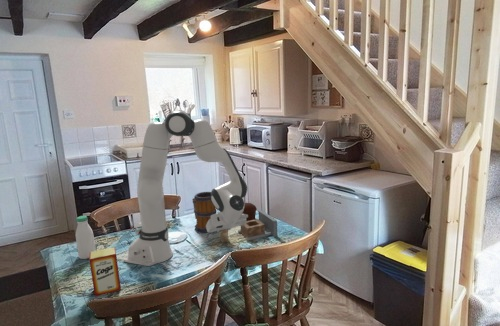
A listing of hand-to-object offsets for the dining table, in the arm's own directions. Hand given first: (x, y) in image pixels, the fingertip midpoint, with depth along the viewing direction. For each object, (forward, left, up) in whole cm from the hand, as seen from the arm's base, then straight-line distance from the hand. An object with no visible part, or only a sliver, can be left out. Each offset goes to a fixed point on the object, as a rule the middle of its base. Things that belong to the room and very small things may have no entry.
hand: (223, 229), depth 174 cm
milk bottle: (-63, -23, -6) cm, 67 cm away
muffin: (+7, +29, -6) cm, 31 cm away
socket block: (+13, +9, -6) cm, 17 cm away
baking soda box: (-36, -48, -6) cm, 60 cm away
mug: (-16, +16, -6) cm, 23 cm away
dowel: (0, -1, -6) cm, 6 cm away
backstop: (+15, +10, -6) cm, 19 cm away
